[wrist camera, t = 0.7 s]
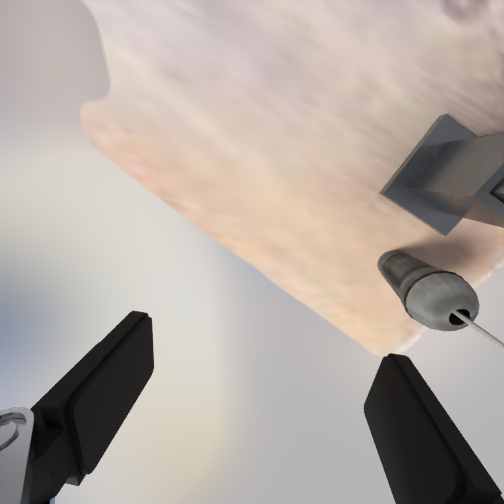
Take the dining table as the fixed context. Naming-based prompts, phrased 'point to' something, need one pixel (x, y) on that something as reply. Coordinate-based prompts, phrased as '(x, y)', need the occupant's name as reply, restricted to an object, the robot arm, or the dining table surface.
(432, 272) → the beverage cup
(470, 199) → the stand
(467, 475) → the robot arm
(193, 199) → the dining table surface
